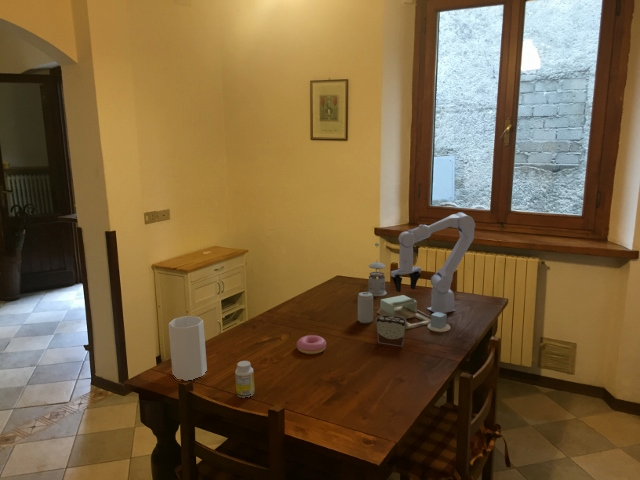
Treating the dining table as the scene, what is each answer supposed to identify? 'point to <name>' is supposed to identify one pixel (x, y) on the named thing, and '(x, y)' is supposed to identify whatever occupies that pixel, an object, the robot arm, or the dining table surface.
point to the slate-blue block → (438, 320)
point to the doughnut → (311, 344)
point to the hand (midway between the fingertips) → (405, 290)
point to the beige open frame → (410, 316)
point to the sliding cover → (397, 303)
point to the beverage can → (365, 307)
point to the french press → (377, 284)
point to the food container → (391, 329)
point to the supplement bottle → (244, 379)
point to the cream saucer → (439, 329)
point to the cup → (187, 347)
